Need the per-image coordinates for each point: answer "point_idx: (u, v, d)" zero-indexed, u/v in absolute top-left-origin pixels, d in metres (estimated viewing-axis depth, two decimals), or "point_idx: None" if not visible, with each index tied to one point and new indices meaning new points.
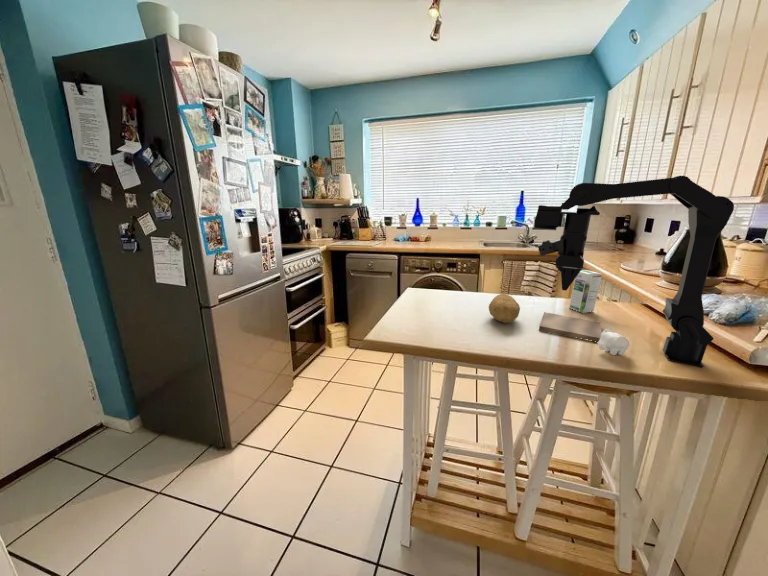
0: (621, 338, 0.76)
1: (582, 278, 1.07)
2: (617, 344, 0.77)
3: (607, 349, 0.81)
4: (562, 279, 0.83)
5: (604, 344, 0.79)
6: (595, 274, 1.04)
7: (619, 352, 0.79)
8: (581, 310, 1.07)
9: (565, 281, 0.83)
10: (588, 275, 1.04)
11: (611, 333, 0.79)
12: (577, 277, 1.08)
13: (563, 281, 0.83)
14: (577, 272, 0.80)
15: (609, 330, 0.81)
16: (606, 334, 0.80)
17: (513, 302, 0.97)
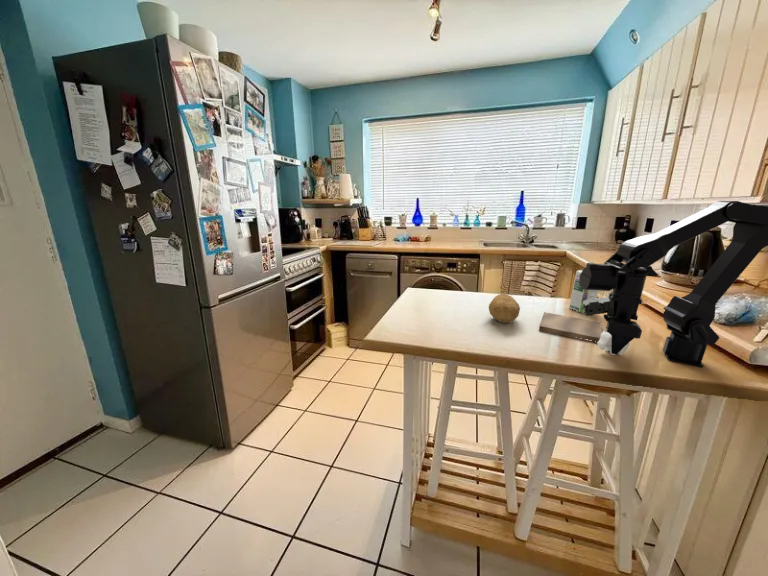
0: None
1: None
2: None
3: (607, 349, 0.81)
4: (612, 343, 0.76)
5: (604, 344, 0.79)
6: None
7: (619, 352, 0.79)
8: (581, 310, 1.07)
9: (616, 345, 0.76)
10: None
11: None
12: (577, 277, 1.08)
13: (614, 344, 0.76)
14: (631, 338, 0.73)
15: None
16: (606, 334, 0.80)
17: (513, 302, 0.97)
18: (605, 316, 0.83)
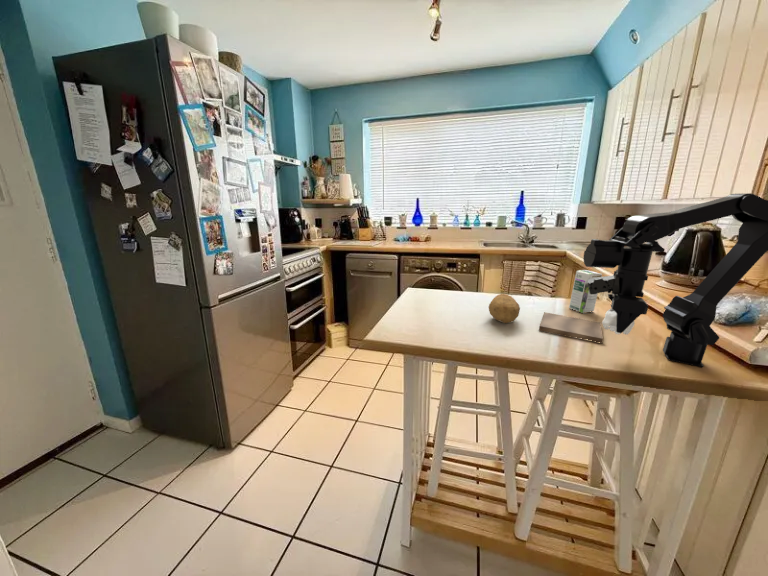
0: None
1: (582, 278, 1.07)
2: None
3: (612, 328, 0.79)
4: (618, 321, 0.74)
5: (609, 323, 0.77)
6: (595, 274, 1.04)
7: (624, 331, 0.77)
8: (581, 310, 1.07)
9: (621, 323, 0.74)
10: (588, 275, 1.04)
11: None
12: (577, 277, 1.08)
13: (619, 323, 0.75)
14: (637, 315, 0.71)
15: None
16: (611, 313, 0.78)
17: (513, 302, 0.97)
18: (610, 296, 0.82)
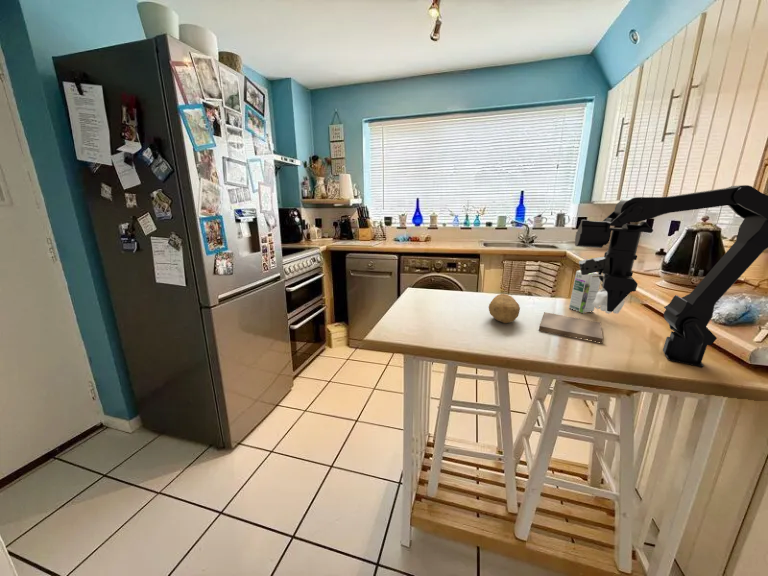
0: None
1: (582, 278, 1.07)
2: None
3: (602, 308, 0.82)
4: (608, 300, 0.77)
5: (600, 302, 0.79)
6: (595, 274, 1.04)
7: (614, 310, 0.80)
8: (581, 310, 1.07)
9: (612, 302, 0.77)
10: (588, 275, 1.04)
11: (606, 292, 0.80)
12: (577, 277, 1.08)
13: (609, 302, 0.77)
14: (626, 293, 0.74)
15: (604, 290, 0.82)
16: (602, 293, 0.80)
17: (513, 302, 0.97)
18: (600, 277, 0.84)
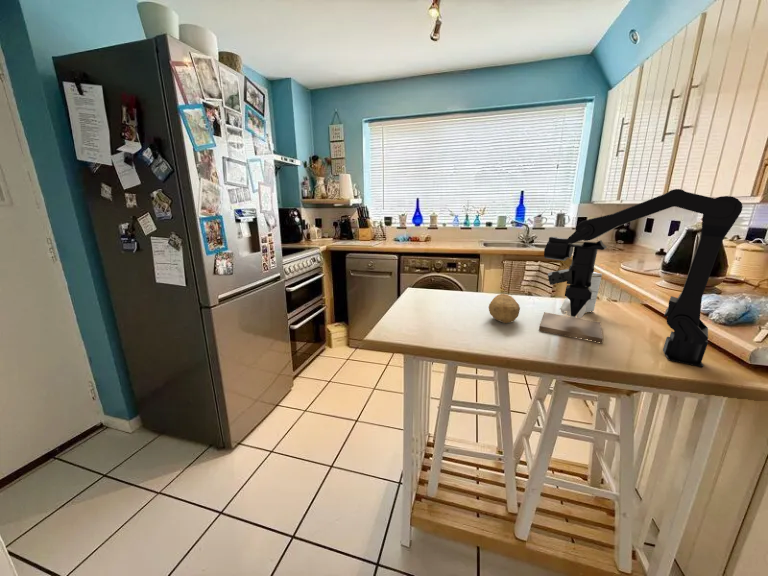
0: None
1: None
2: None
3: (568, 313, 0.94)
4: (571, 306, 0.90)
5: (565, 308, 0.92)
6: (595, 274, 1.04)
7: (578, 315, 0.93)
8: None
9: (574, 308, 0.90)
10: None
11: None
12: None
13: (572, 308, 0.90)
14: (585, 301, 0.87)
15: None
16: (567, 300, 0.93)
17: (513, 302, 0.97)
18: (568, 286, 0.97)
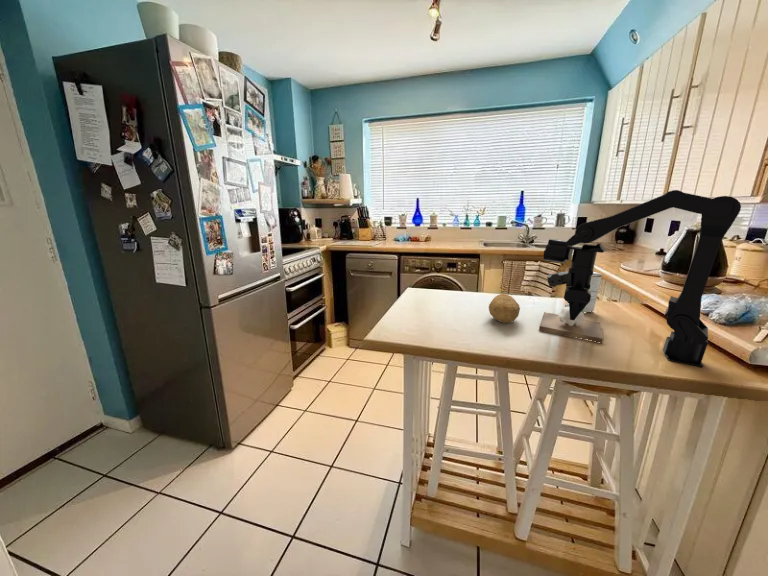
0: None
1: None
2: None
3: (566, 321, 0.95)
4: (570, 310, 0.89)
5: (563, 316, 0.93)
6: (595, 274, 1.04)
7: (576, 323, 0.93)
8: None
9: (573, 312, 0.89)
10: None
11: None
12: None
13: (571, 311, 0.89)
14: (584, 305, 0.86)
15: (568, 305, 0.95)
16: (565, 308, 0.94)
17: (513, 302, 0.97)
18: (567, 287, 0.98)
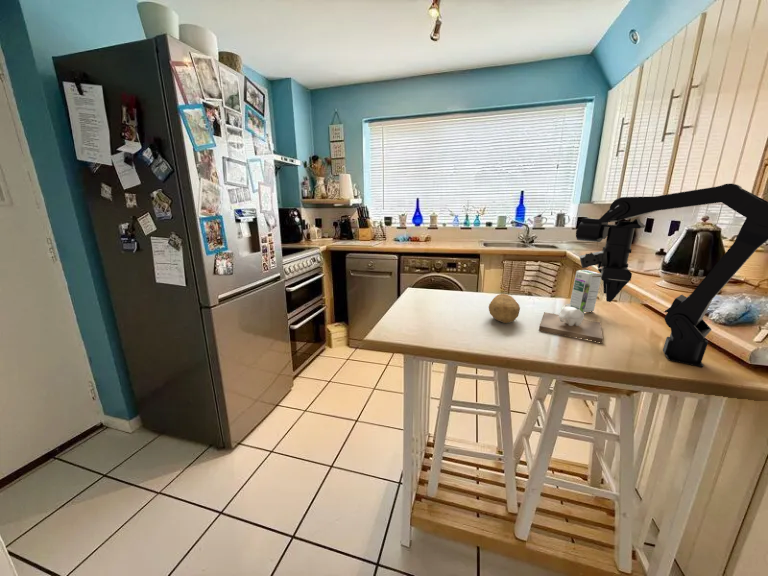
0: (577, 310, 0.90)
1: (582, 278, 1.07)
2: (573, 316, 0.91)
3: (566, 321, 0.95)
4: (607, 291, 0.84)
5: (563, 316, 0.93)
6: (595, 274, 1.04)
7: (576, 323, 0.93)
8: (581, 310, 1.07)
9: (610, 293, 0.84)
10: (588, 275, 1.04)
11: (569, 307, 0.94)
12: (577, 277, 1.08)
13: (608, 292, 0.84)
14: (623, 284, 0.81)
15: (568, 305, 0.95)
16: (565, 308, 0.94)
17: (513, 302, 0.97)
18: (599, 269, 0.94)
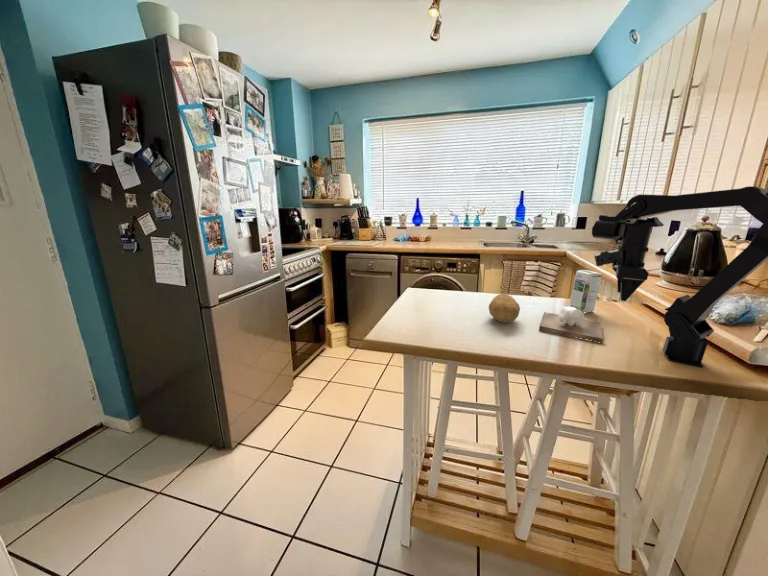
0: (577, 310, 0.90)
1: (582, 278, 1.07)
2: (573, 316, 0.91)
3: (566, 321, 0.95)
4: (622, 290, 0.83)
5: (563, 316, 0.93)
6: (595, 274, 1.04)
7: (576, 323, 0.93)
8: (581, 310, 1.07)
9: (625, 292, 0.83)
10: (588, 275, 1.04)
11: (569, 307, 0.94)
12: (577, 277, 1.08)
13: (623, 291, 0.83)
14: (639, 283, 0.80)
15: (568, 305, 0.95)
16: (565, 308, 0.94)
17: (513, 302, 0.97)
18: (614, 268, 0.92)
